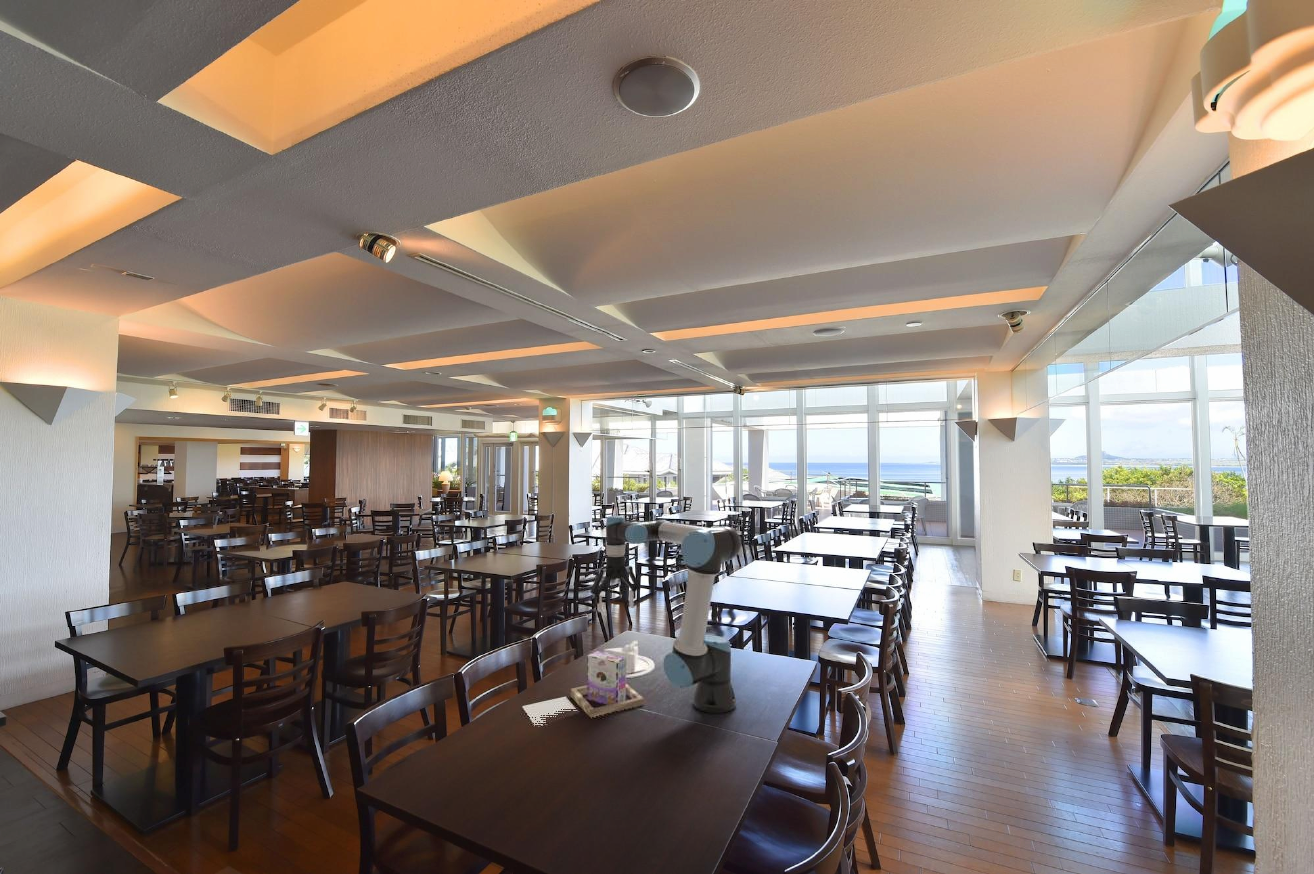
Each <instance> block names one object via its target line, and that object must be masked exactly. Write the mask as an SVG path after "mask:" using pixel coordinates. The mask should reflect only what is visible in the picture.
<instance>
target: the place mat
mask: <svg viewBox="0 0 1314 874" xmlns="http://www.w3.org/2000/svg"><path fill="white" fill-rule="evenodd" d="M521 707H522V709H523V710H524V712H525V713H527V714H526V715H527V716H529V717H530V718H529V717H528V718H529V719H530V721H531V722H532V724H533V723H534V724H533V726H535V725H541V726H544V725H543V724H538V723H546V722H543V721H546V720H541V719H546V718H540V717H549V716H546V715H558V714H554V713H562V712H558V711H571V710H563V709H577V708H576V707H575V706H574V704H573V703H572V702H571V701H570V700H569V699H568V698H567V696H562V697H559V698H553V699H548V700H544V701H539V702H535V703H531V704H527V705H523V706H521ZM561 709H562V710H561ZM556 711H557V712H556ZM573 711H578V709H577V710H573ZM548 713H549V714H548ZM563 713H564V712H563ZM541 715H542V716H541ZM543 715H545V716H543ZM532 717H533V718H532ZM535 717H536V718H535ZM550 717H552V716H550ZM553 717H554V716H553ZM555 717H556V716H555ZM535 719H536V720H535ZM537 721H538V722H537ZM539 721H540V722H539ZM535 723H537V724H535Z"/></svg>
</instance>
